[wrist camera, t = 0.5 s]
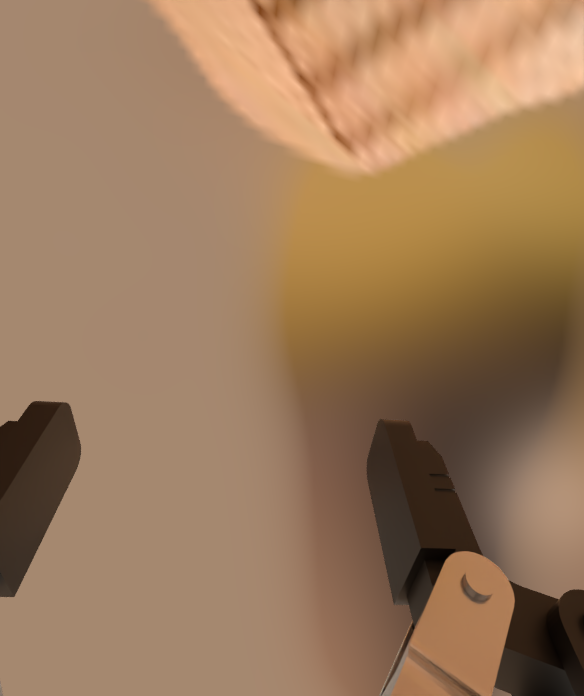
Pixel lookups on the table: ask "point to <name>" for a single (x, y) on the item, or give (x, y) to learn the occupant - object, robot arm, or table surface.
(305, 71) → the table surface
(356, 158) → the table surface
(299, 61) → the table surface
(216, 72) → the table surface
